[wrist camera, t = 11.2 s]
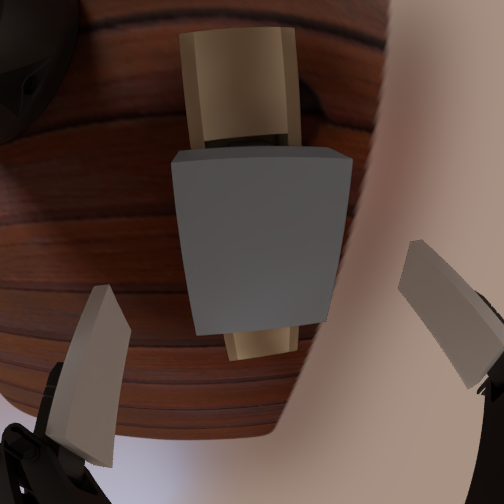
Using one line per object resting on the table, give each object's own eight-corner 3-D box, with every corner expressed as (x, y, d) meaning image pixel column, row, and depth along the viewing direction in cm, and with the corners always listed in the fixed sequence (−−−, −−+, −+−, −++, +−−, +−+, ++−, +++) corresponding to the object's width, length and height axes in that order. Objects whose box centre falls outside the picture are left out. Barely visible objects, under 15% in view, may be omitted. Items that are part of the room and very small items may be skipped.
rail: (226, 328, 26) (229, 361, 23) (185, 48, 14) (178, 34, 10) (287, 319, 27) (297, 350, 23) (277, 41, 14) (294, 27, 11)
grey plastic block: (198, 269, 22) (196, 335, 16) (185, 140, 17) (170, 162, 11) (297, 262, 23) (325, 321, 17) (305, 137, 18) (352, 159, 12)
